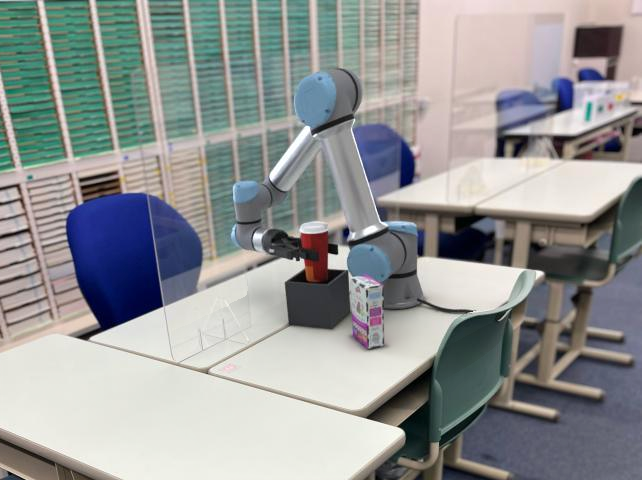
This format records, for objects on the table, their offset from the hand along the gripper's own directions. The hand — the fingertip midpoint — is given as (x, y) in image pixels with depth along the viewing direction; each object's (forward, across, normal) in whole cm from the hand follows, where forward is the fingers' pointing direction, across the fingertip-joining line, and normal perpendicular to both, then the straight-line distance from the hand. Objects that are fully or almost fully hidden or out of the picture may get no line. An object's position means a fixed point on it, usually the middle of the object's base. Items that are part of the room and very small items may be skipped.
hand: (327, 253), depth 189 cm
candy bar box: (+18, +4, -20) cm, 27 cm away
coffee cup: (-5, 0, -8) cm, 10 cm away
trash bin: (-5, 0, -20) cm, 20 cm away
